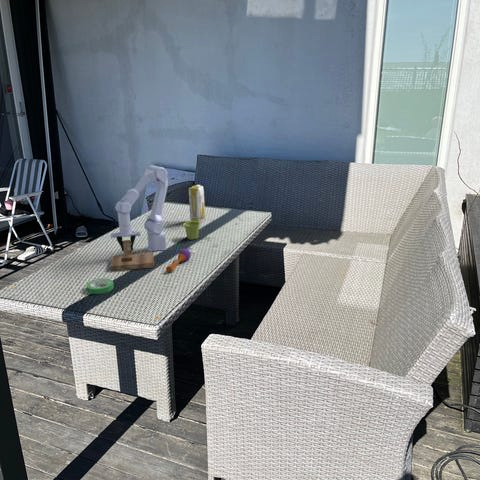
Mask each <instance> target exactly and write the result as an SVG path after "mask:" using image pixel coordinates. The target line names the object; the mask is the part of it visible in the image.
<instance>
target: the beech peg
mask: <svg viewBox="0 0 480 480" xmlns="http://www.w3.org/2000/svg"><path fill="white" fill-rule="evenodd" d="M122 241H123V250H124V251H123V255H130V254H133V250H131V240H130V239H124V240H122Z"/></svg>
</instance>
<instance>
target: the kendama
mask: <svg viewBox="0 0 480 480" xmlns="http://www.w3.org/2000/svg"><path fill="white" fill-rule="evenodd" d="M191 255H192V254H191V250H189V249H188V248H182V249H180V250H179V251H178V256H177V260H175V261H174V262H172V263H171V264H169V265H168V266H166V268H165V269H166V272H167V273H171V274H172V273H173V272H174V270H175V268H176V267H177V266H178V264H179V263H180V262H186V261H188V260H189V259H191Z"/></svg>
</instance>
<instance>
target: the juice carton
mask: <svg viewBox="0 0 480 480" xmlns="http://www.w3.org/2000/svg"><path fill="white" fill-rule="evenodd" d="M188 200H189V202H188V203H189V205H188V206H189V219H190V222H191V221H196V222H200V225H201V224H202V223H203V222H205V221H206V220H205V219H206V217H205V216H206V214H205V213H206V212H205V211H206V209H205V189H204V186H203V185H201V184H196V185H193V186H192V187H189V188H188Z"/></svg>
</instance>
